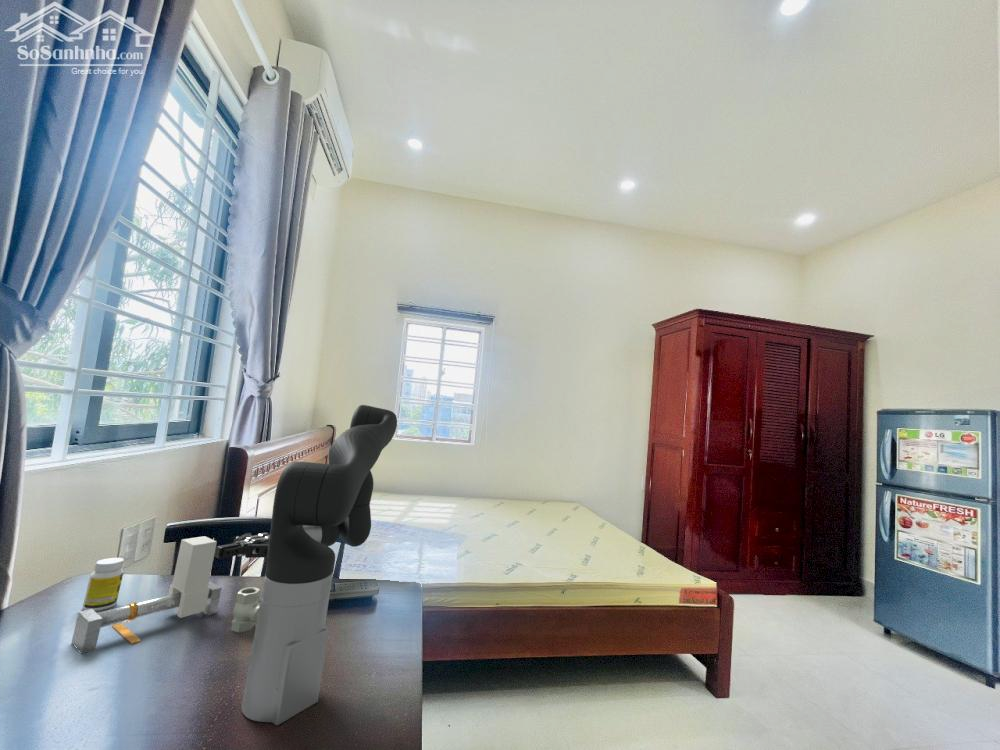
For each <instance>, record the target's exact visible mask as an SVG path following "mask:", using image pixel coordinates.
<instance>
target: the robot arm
mask: <svg viewBox="0 0 1000 750" xmlns="http://www.w3.org/2000/svg"><path fill="white" fill-rule="evenodd" d="M397 428H398V417H397V415H396V414H395V413H394V411H391V410H389V409H385V408H381V407H380V408H379V407H377V406H371V405H365V404H360V405H358V406H357V408H356V409H355V410H354V412H353V415H352V417H351V421H350V426H349V429H346V430H345V431H343V432H342V433H341V434H340V435H339V436H338V437H337V438H336V439H335V440H334V441H333V443H332V444H331V445H330V448H329V451H328V463H320V462H309V461H307V462H306V461H293V462H291V463H289V464H288V465H287V466H286V467H285V468H284V469H283V471H282V473H281V474H280V476H279V479H278V481H277V484H276V489H275V493H274V498H273V506H272V514H271V524H270V531H269V533H268V532H261V533H258V534H256V535H252V533H251V532H247V533H244V534H242V535H240V536H238V537H237V538H235V539H234V541H233V542H232V543H227V544H222V545H218V546H216V549H215V554H214V557H215V558H216V559H226V558H231V557H236V556H237V557H244V558H247V559H248V558H251V559H252V558H253V559H255V558H266V568H265V572H264V580H263V585H262V591H261V594H260V599H259V600H260V601H259V604H260V605H259V611H258V617H257V622H256V623H255V627H254V628H255V629H254V633H253V634H254V635H253V640H252V646H251V651H250V657H249V661H248V668H247V673H246V680H245V684H244V690H243V696H242V700H241V706H240V707H241V712H242V714H243V715H244V716H245V717H246V718H247V719H249V720H251V721H254V722H260V723H272V724H274V725H275V726H279V725H280V724H282V723H284V722H286V721H288V720H290V719H291V718H292V717H294V716H296V715H298V714H299V713H301V712H303V711H305V710H306V709H307V708H310V707H311V706H313V705H314V704H316V703H318V702H319V696H320V690H321V684H322V678H323V677H322V676H323V671H324V663H325V656H326V652H327V644H328V636H329V631H328V629H325V627H326V622H327V621H326V620H327V614H328V608H329V602H330V601H329V600H330V597H331V596H330V594H331V588H332V583H333V575H334V570H335V569H334V568H335V563H336V553H335V551H334V550H333V549H332V548H331V546H333V545H334V544H335V543H336V542H337V541H338V539H339V538H340V539H342V540H343V541H344V542H345V543H346V544H347V545H348V546H350V547H359V546H361V545H363V544H364V543H365V542H366V541H367V539H368V538H369V536H370V534H371V530H372V514H371V501H372V495H373V490H374V476H373V473H372V471H371V470H372V469H373V468H374V466H375V464H376V462H377V461H378V459H379V457H380V455H381V453H382V451H383V450H384V449H385V448H386V447H387V446H388V445H389V444H390V442H392V439H393V438H394V436H395V433H396V431H397Z"/></svg>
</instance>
